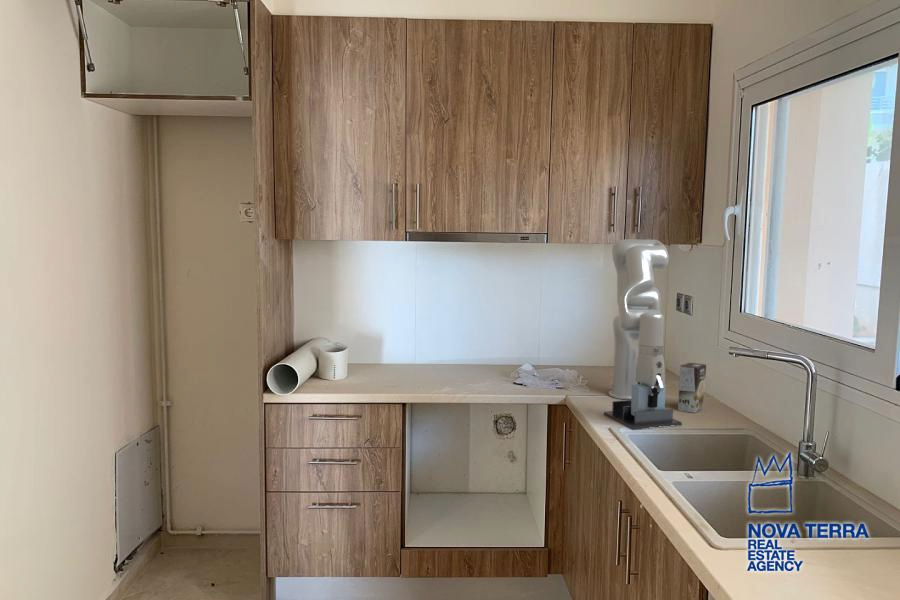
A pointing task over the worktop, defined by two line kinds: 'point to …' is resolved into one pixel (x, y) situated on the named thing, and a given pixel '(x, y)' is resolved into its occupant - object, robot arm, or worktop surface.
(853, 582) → the worktop surface
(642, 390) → the blue-grey square block
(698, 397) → the coffee box
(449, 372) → the worktop surface
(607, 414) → the dish rack
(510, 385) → the worktop surface
